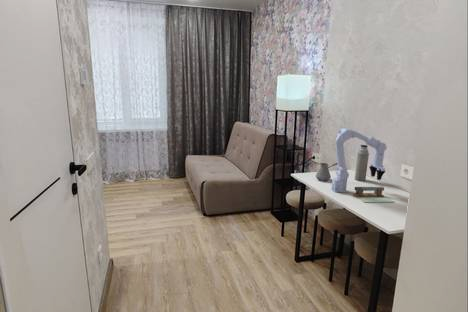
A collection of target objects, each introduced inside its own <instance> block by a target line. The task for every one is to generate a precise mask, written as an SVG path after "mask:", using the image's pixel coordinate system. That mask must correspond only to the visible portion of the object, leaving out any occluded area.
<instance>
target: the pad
mask: <svg viewBox="0 0 468 312" xmlns="http://www.w3.org/2000/svg"><path fill="white" fill-rule="evenodd" d="M358 199H359V200H360V201H362V202H363V203H365V204H366V203H378V204H379V203H395V200H393V199H391V198H390V197H358Z"/></svg>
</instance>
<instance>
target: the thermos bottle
mask: <svg viewBox="0 0 468 312" xmlns="http://www.w3.org/2000/svg"><path fill="white" fill-rule="evenodd" d="M368 146H369V145H367V144H360V148H359V150H358V152H357V157H356V165H355V173H354V180H355V181H357V182H365V181H366V178H367V171H368V164H369V156H370V152H369V149H368Z"/></svg>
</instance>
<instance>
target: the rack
mask: <svg viewBox="0 0 468 312" xmlns="http://www.w3.org/2000/svg"><path fill="white" fill-rule="evenodd" d="M352 195H353V196H354V197H355V198H385V195H384V194H383V191H382V189H378V191H373V192H364V191H363V189H359V191H356V190H355V192H353V193H352Z"/></svg>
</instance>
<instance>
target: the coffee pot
mask: <svg viewBox="0 0 468 312" xmlns="http://www.w3.org/2000/svg"><path fill="white" fill-rule="evenodd" d="M319 164H320V167H319V169H318V170H317V172H316V174H315V177H316V179H317V180H318V181H321V182H327V181H329V180H330V179H331V173H330V171H329V168H331V167H333V166H338V163H337V162H336V163H333V164H332V165H330V164H329V163H326V162H320V163H319Z"/></svg>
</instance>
